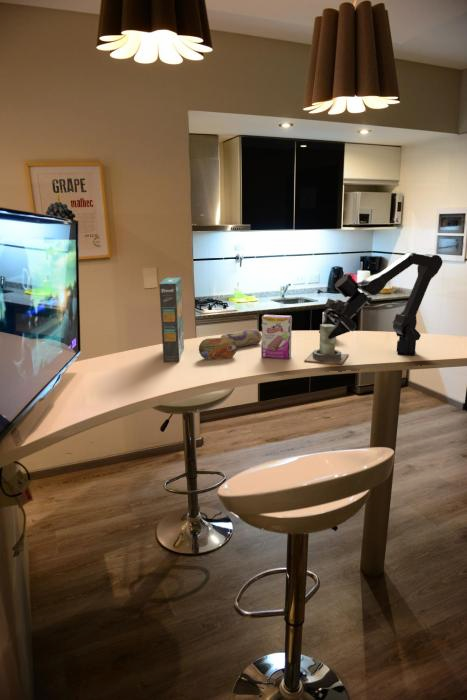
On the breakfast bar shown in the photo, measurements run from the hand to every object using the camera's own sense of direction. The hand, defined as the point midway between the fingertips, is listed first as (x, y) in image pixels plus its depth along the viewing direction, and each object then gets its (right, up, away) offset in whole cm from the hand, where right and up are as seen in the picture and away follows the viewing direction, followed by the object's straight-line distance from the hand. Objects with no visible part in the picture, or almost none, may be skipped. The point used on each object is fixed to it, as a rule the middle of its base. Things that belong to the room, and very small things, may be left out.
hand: (324, 335), depth 175 cm
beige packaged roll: (-34, -4, +24) cm, 42 cm away
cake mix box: (-58, -8, +12) cm, 60 cm away
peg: (+1, -8, +2) cm, 9 cm away
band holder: (+2, -9, +2) cm, 9 cm away
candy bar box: (-18, -8, +6) cm, 20 cm away
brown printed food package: (-40, -9, +6) cm, 42 cm away
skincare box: (+9, 0, +35) cm, 36 cm away
